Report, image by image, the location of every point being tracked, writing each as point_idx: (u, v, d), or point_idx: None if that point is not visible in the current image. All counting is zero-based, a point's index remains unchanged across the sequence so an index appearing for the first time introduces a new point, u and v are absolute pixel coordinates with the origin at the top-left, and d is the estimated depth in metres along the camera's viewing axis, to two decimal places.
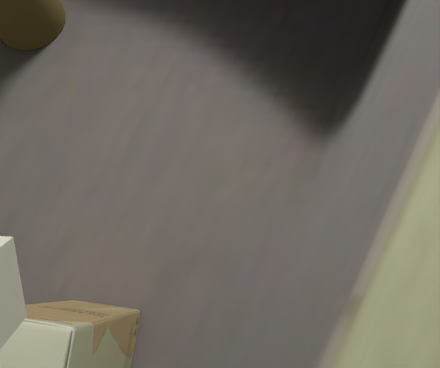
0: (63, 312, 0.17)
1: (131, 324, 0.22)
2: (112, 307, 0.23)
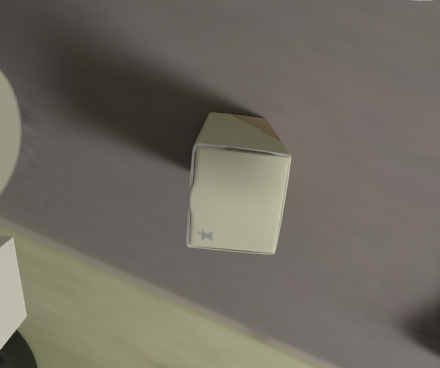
0: None
1: None
2: None
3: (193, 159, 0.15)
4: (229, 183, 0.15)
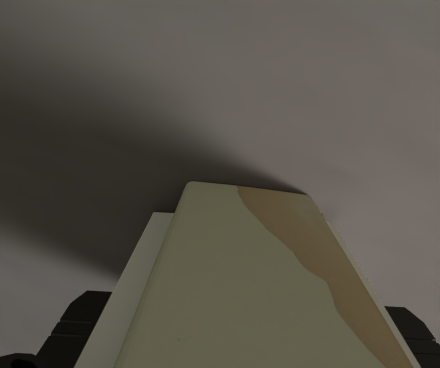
0: None
1: None
2: None
3: None
4: None
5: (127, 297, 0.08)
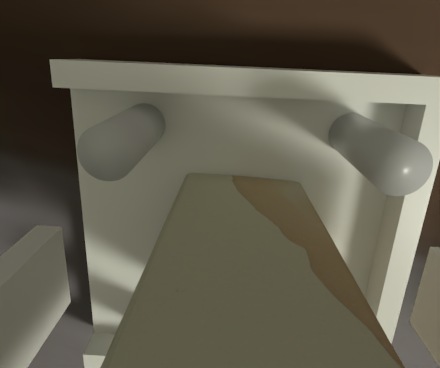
0: None
1: None
2: None
3: None
4: None
5: None
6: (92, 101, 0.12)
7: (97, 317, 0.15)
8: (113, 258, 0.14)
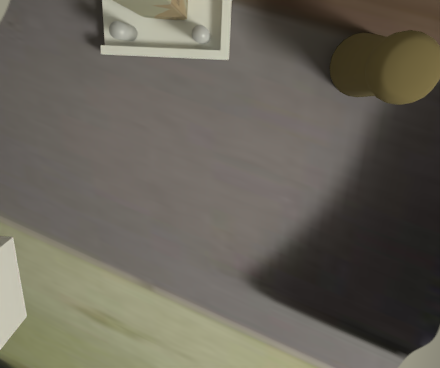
0: None
1: (175, 17, 0.31)
2: None
3: None
4: None
5: None
6: None
7: (106, 36, 0.34)
8: (113, 2, 0.33)
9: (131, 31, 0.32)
